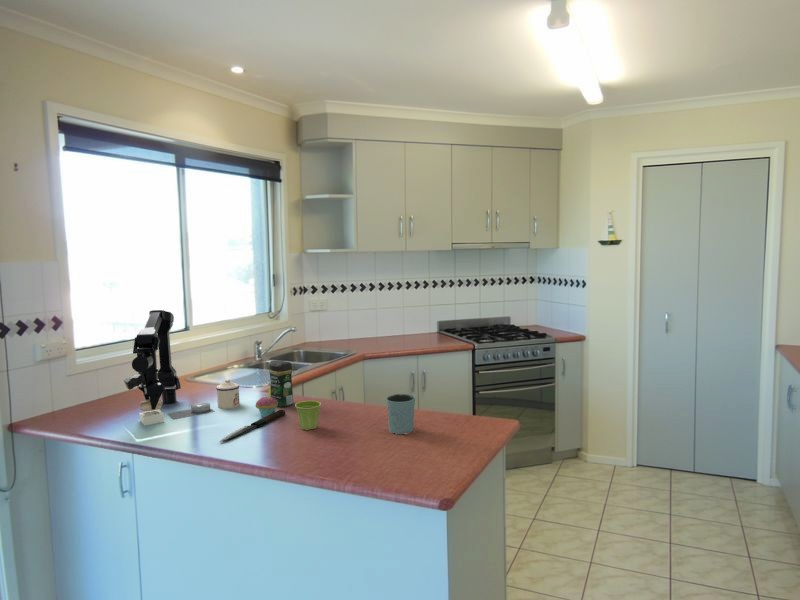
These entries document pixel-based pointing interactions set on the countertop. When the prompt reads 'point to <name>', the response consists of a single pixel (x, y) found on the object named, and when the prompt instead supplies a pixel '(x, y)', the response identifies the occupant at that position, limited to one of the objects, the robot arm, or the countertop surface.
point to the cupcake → (267, 405)
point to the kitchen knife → (255, 424)
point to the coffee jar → (281, 382)
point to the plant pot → (308, 414)
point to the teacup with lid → (228, 395)
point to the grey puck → (200, 407)
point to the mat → (185, 414)
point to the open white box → (151, 417)
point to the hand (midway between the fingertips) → (151, 407)
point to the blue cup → (400, 413)
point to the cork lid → (149, 405)
